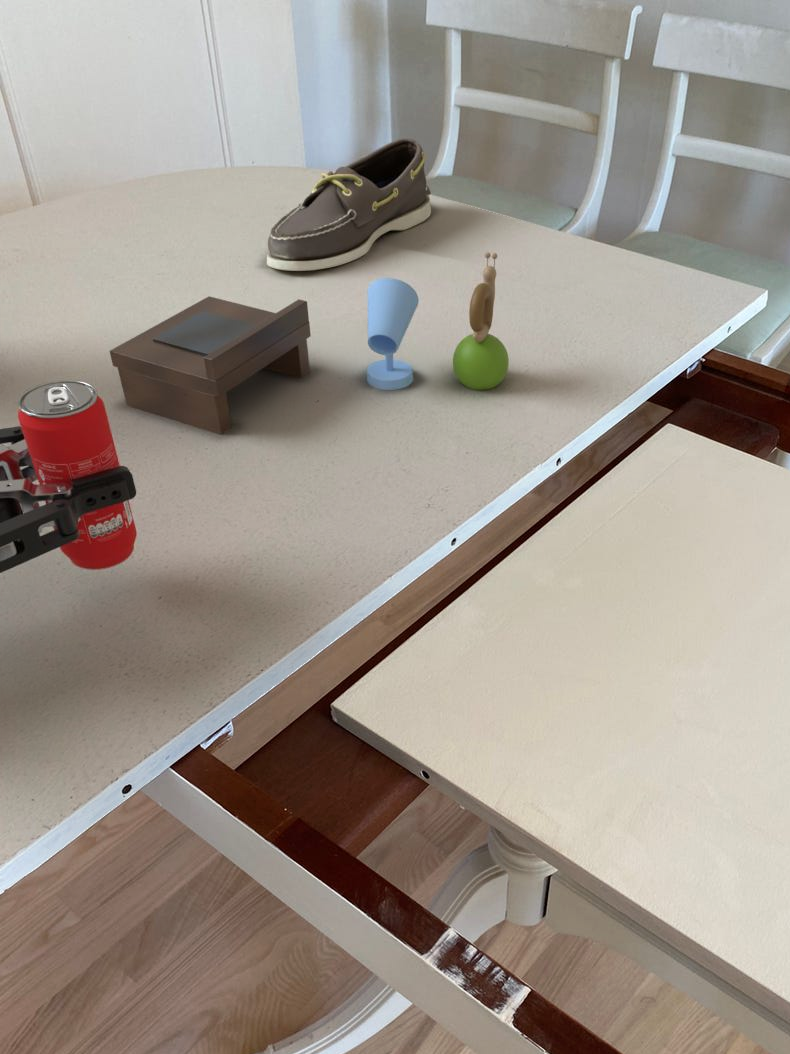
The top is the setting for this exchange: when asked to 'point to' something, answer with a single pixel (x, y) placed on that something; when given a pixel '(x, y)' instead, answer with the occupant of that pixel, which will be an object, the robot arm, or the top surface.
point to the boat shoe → (353, 209)
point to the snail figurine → (481, 340)
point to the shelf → (209, 358)
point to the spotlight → (389, 331)
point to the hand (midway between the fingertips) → (117, 461)
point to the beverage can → (77, 464)
